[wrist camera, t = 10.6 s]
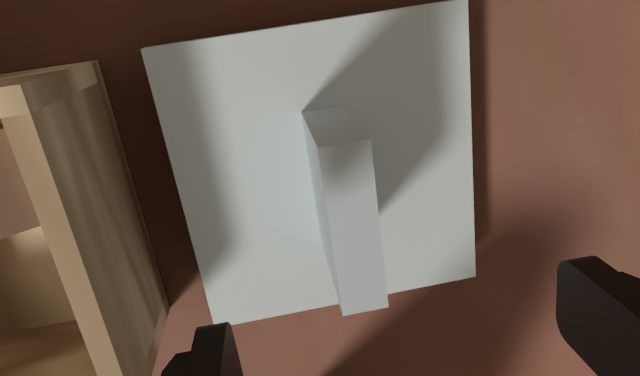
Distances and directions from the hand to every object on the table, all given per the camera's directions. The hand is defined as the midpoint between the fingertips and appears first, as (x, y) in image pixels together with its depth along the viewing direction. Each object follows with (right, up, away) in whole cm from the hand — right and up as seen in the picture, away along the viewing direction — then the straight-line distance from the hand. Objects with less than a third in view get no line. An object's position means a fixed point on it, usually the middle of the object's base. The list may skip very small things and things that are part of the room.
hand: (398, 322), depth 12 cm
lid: (-2, +4, +11) cm, 12 cm away
